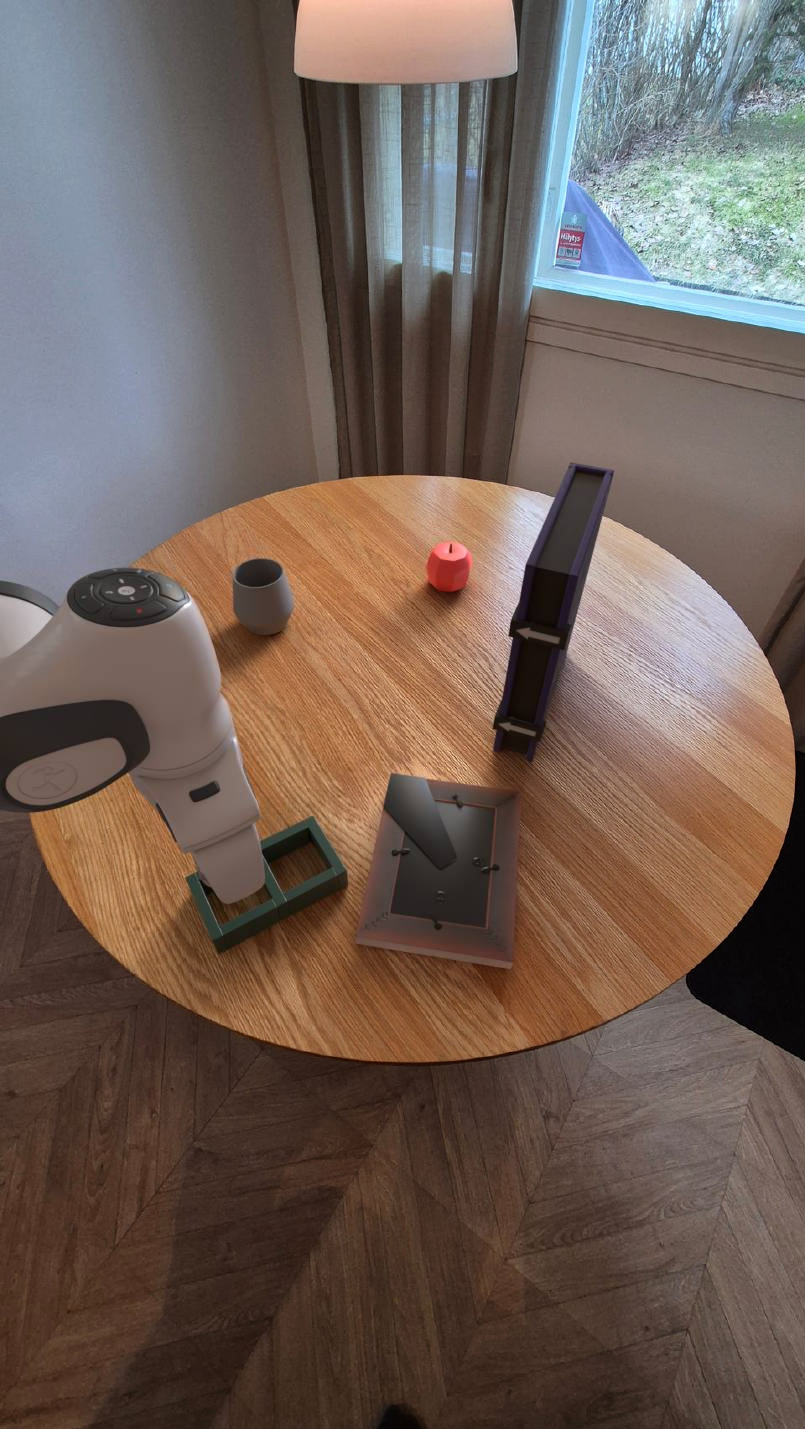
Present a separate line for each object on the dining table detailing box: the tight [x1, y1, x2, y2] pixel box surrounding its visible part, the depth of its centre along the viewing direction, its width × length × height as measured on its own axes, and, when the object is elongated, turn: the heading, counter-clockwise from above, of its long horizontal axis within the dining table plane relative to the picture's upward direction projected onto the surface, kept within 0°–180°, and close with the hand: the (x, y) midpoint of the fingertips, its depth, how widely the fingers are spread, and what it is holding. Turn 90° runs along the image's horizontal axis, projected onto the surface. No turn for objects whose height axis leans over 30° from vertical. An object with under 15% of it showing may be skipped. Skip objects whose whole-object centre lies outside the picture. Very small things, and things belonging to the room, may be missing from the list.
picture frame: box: [354, 772, 522, 970], centre depth 76 cm, size 16×2×22 cm
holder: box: [184, 815, 349, 955], centre depth 74 cm, size 16×8×4 cm, turn 121°
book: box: [492, 462, 615, 763], centre depth 84 cm, size 24×6×30 cm, turn 159°
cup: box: [232, 557, 295, 636], centre depth 102 cm, size 10×9×10 cm
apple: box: [425, 541, 474, 593], centre depth 111 cm, size 8×8×8 cm
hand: (214, 840), depth 64 cm, fingers closed on pill bottle, 5 cm apart
